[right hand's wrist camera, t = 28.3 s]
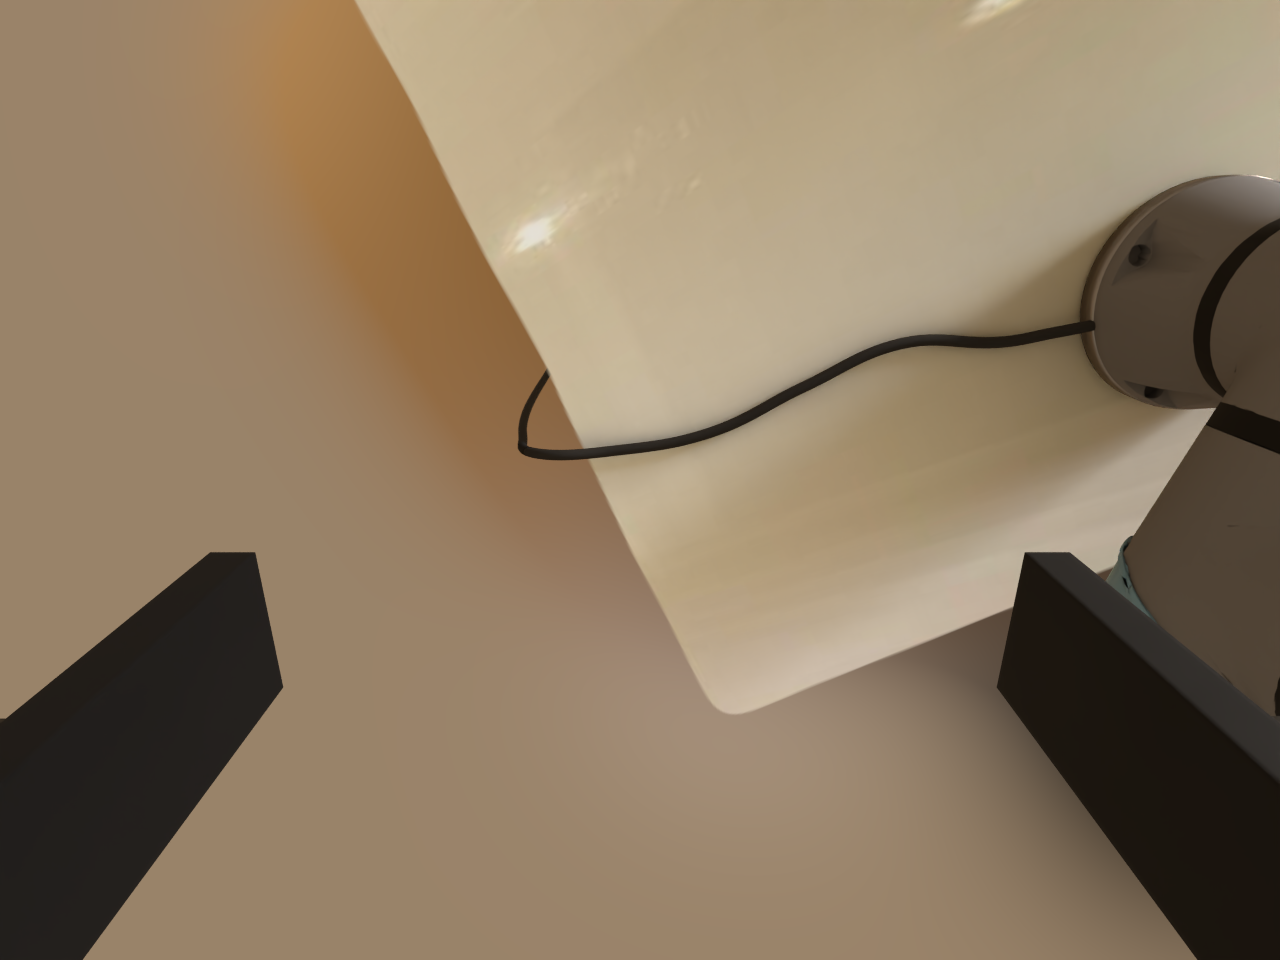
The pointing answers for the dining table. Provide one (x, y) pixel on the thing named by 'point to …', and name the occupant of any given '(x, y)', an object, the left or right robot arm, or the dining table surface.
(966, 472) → the dining table surface
